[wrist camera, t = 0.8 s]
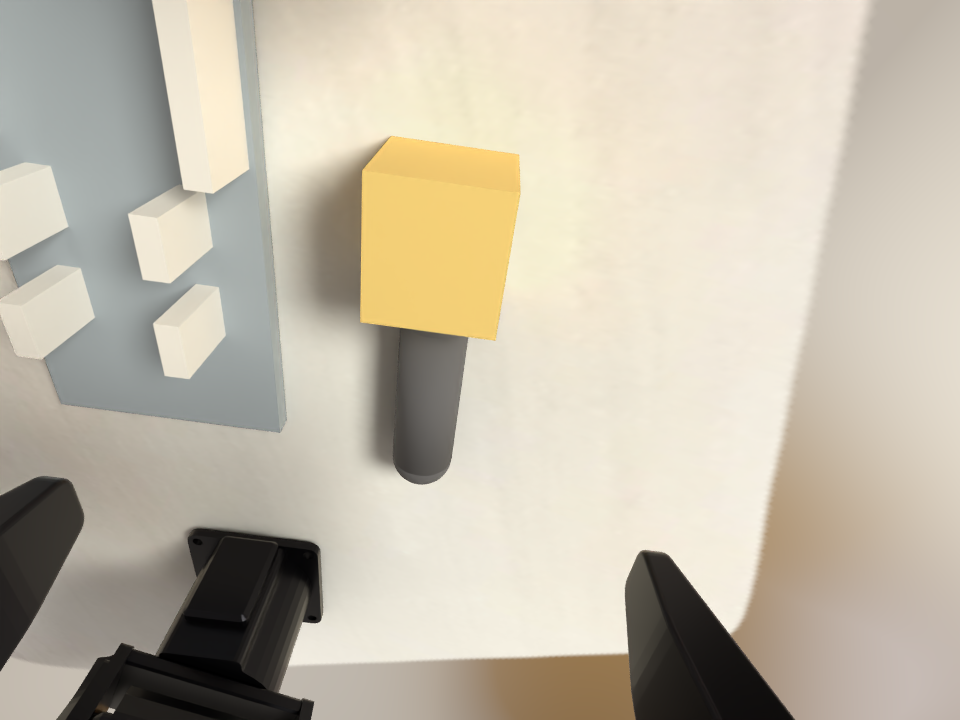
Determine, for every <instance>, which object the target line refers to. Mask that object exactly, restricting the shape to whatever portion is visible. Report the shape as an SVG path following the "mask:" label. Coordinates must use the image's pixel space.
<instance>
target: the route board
mask: <svg viewBox="0 0 960 720" xmlns="http://www.w3.org/2000/svg"><path fill="white" fill-rule="evenodd" d="M7 259H8V260H9V263H10V266H11V269H12V271H13V274H14V277H15V279H16V282H17V285H18V289H16V290H14V291H13V292H11V293H9V294H8V295H6V296H4V297H3V298H1V299H0V316H1V319H2V321H3V324H4V326H5V329H6V331H7V334H8V336H9V339H10V341H11V344H12V346H13V349H14V351H15V354H16V356H18V357H26V358H34V359H43V358H45V361H46V364H47V367H48V369H49V372H50V375H51V378H52V380H53V383H54V386H55V388H56V391H57V394H58V397H59V399H60V402H61V404H65V405H73V406H80V407H88V408H96V409H103V410H111V411H118V412H126V413H134V414H141V415H149V416H157V417H164V418H172V419H180V420H187V421H195V422H202V423H210V424H218V425H225V426H233V427H241V428H248V429H256V430H264V431H271V432H279V433H280V432H281V430H282V428H283V426H284V425H285V423H286V421H287V418H286V406H285V394H284V381H283V369H282V357H281V345H280V333H279V321H278V309H277V297H276V285H275V273H274V260H273V248H272V236H271V224H270V212H269V200H268V188H267V176H266V164H265V152H264V140H263V127H262V115H261V103H260V91H259V79H258V67H257V55H256V43H255V31H254V19H253V6H252V0H0V260H3V261H5V260H7Z"/></svg>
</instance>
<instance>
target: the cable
mask: <svg viewBox="0 0 960 720" xmlns="http://www.w3.org/2000/svg"><path fill="white" fill-rule="evenodd" d="M519 198H520V168H519V155H518V154H511V153H504V152H497V151H490V150H483V149H477V148H470V147H463V146H456V145H449V144H443V143H436V142H429V141H422V140H415V139H409V138H402V137H395V136H391V137H390V138H389V139H388V140H387V142H386V143H385V144H384V145H383V146H382V148H381V149H380V150H379V151H378V152H377V153H376V155H375V156H374V157H373V158H372V159H371V160H370V162H369V163H368V164H367V165H366V166H365V168H364V169H363V170H362V222H361V306H360V322H363V323H370V324H377V325H384V326H392V327H399V328H400V342H399V359H398V376H397V394H396V411H395V428H394V445H393V460H394V464H395V467H396V469H397V471H398V472H399V473H400V475H401V476H402V477H403V478H404V479H406V480H408V481H409V482H412V483H414V484H429V483H432V482H434V481H437V480H438V479H440V478H441V477H442V476H443V475H444V474H445V473H446V471H447V469H448V468H449V465H450V462H451V458H452V451H453V444H454V436H455V429H456V422H457V415H458V407H459V400H460V393H461V386H462V378H463V371H464V364H465V356H466V349H467V342H468V337H472V338H479V339H487V340H494V341H495V340H496V334H497V328H498V322H499V316H500V310H501V304H502V298H503V293H504V287H505V281H506V275H507V269H508V263H509V257H510V251H511V246H512V240H513V234H514V228H515V222H516V216H517V210H518V204H519Z"/></svg>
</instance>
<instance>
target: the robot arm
mask: <svg viewBox="0 0 960 720" xmlns="http://www.w3.org/2000/svg"><path fill="white" fill-rule="evenodd" d="M83 523H84V512H83V509H82V507H81V504H80V502H79V499H78V497H77V494H76V491H75V489H74V486H73V484H72V483H71V482H70V481H69V480H68V479H64V478H57V477H48V476H41V477H37V478H34V479H32V480H30V481H28V482H26V483H24V484H22V485H20V486H18V487H16V488H14V489H12V490H10V491H9V492H7V493H5V494H3V495H1V496H0V671H1V670H2V668H3V666H4V665H5V663H6V662H7V660H8V659H9V657H10V656H11V654H12V653H13V651H14V650H15V648H16V647H17V645H18V644H19V642H20V641H21V639H22V638H23V636H24V634H25V633H26V631H27V630H28V628H29V626H30V625H31V623H32V621H33V620H34V618H35V616H36V614H37V613H38V611H39V609H40V607H41V605H42V604H43V602H44V600H45V598H46V596H47V594H48V592H49V590H50V588H51V586H52V585H53V583H54V581H55V579H56V577H57V575H58V573H59V571H60V569H61V567H62V566H63V564H64V562H65V560H66V558H67V556H68V554H69V552H70V550H71V548H72V547H73V545H74V543H75V541H76V539H77V537H78V535H79V533H80V531H81V529H82V526H83ZM188 544H189V548H190V552H191V556H192V560H193V564H194V568H195V572H196V576H197V579H196V581H195V582H194V584H193V586H192V588H191V590H190V592H189V594H188V595H187V597H186V599H185V601H184V603H183V605H182V607H181V608H180V610H179V612H178V614H177V616H176V618H175V619H174V621H173V623H172V625H171V627H170V629H169V631H168V632H167V634H166V636H165V638H164V640H163V642H162V644H161V645H160V647H159V649H158V651H157V653H156V655H151V654H148V653H145V652H142V651H138V650H135V649H134V646H130V645H127V644H124V643H121V644H120V646H119V647H118V649H117V651H116V652H115V654H114V655H112V656H109V657H101V658H98V659H97V660H96V662H95V663H94V665H93V667H92V668H91V670H90V671H89V673H88V675H87V676H86V678H85V680H84V681H83V683H82V684H81V686H80V687H79V689H78V691H77V692H76V694H75V695H74V697H73V698H72V699H71V701H70V702H69V704H68V705H67V706H66V708H65V709H64V710H63V712H62V713H61V714H60V716H59V717H58V718H57V719H56V720H311V716H312V710H313V706H314V701H311V700H308V699H304V698H303V699H302V700H300V699H296V698H293V697H289V696H286V695H283V694H280V693H279V690H280V687H281V684H282V681H283V678H284V675H285V672H286V669H287V666H288V663H289V660H290V657H291V654H292V651H293V648H294V645H295V642H296V639H297V636H298V633H299V630H300V628H301V625H302V622H307V623H319V622H320V621H321V618H322V615H323V597H322V576H321V555H320V548H319V547H318V546H317V545H315V544H313V543H308V542H300V541H292V540H284V539H276V538H268V537H260V536H252V535H244V534H236V533H228V532H220V531H212V530H204V529H195V530H193V531H192V532H191V534H190V535H189V537H188ZM625 605H626V621H627V636H628V651H629V667H630V680H631V692H632V699H633V706H634V712H635V718H636V720H795V719H794V718H793V716H792V715H791V714H790V712H789V711H788V710H787V708H786V707H785V706H784V705H783V703H782V702H781V701H780V700H779V698H778V697H777V695H776V694H775V693H774V692H773V690H772V689H771V688H770V686H769V685H768V684H767V682H766V681H765V680H764V678H763V677H762V676H761V675H760V673H759V672H758V671H757V669H756V668H755V667H754V666H753V664H752V663H751V662H750V660H749V659H748V658H747V656H746V655H745V654H744V653H743V651H742V650H741V649H740V647H739V646H738V645H737V643H736V642H735V641H734V639H733V638H732V637H731V636H730V634H729V633H728V632H727V630H726V629H725V628H724V626H723V625H722V624H721V623H720V621H719V620H718V619H717V617H716V616H715V615H714V613H713V612H712V611H711V610H710V608H709V607H708V606H707V604H706V603H705V602H704V600H703V599H702V598H701V596H700V595H699V594H698V593H697V591H696V590H695V589H694V587H693V586H692V585H691V583H690V582H689V581H688V580H687V578H686V577H685V576H684V574H683V573H682V572H681V570H680V569H679V568H678V567H677V565H676V564H675V563H674V561H673V560H672V559H671V558H670V556H668V555H667V554H666V553H663V552H657V551H649V550H642V551H641V552H639V554H638V555H637V558H636V560H635V562H634V564H633V567H632V569H631V571H630V573H629V576H628V578H627V581H626V585H625ZM109 708H113V709H116V710H115V712H114V714H112V713H108V712H107V710H108V709H109Z"/></svg>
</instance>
